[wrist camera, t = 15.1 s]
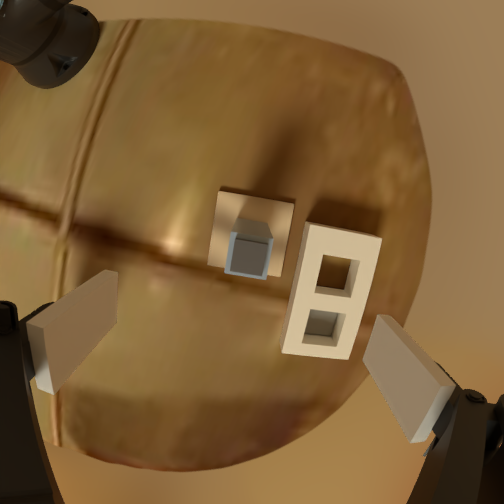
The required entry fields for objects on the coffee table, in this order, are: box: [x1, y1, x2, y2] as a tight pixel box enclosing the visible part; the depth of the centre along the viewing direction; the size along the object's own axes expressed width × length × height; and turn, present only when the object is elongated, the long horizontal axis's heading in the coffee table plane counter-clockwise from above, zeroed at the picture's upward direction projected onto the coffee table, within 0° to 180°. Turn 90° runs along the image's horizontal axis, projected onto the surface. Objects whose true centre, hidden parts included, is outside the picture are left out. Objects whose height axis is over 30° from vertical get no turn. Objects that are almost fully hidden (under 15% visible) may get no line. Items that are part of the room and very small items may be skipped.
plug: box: [224, 218, 274, 280], centre depth 35 cm, size 4×4×13 cm
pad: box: [207, 191, 294, 277], centre depth 42 cm, size 10×10×1 cm
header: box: [280, 221, 382, 360], centre depth 42 cm, size 18×10×4 cm, turn 170°
